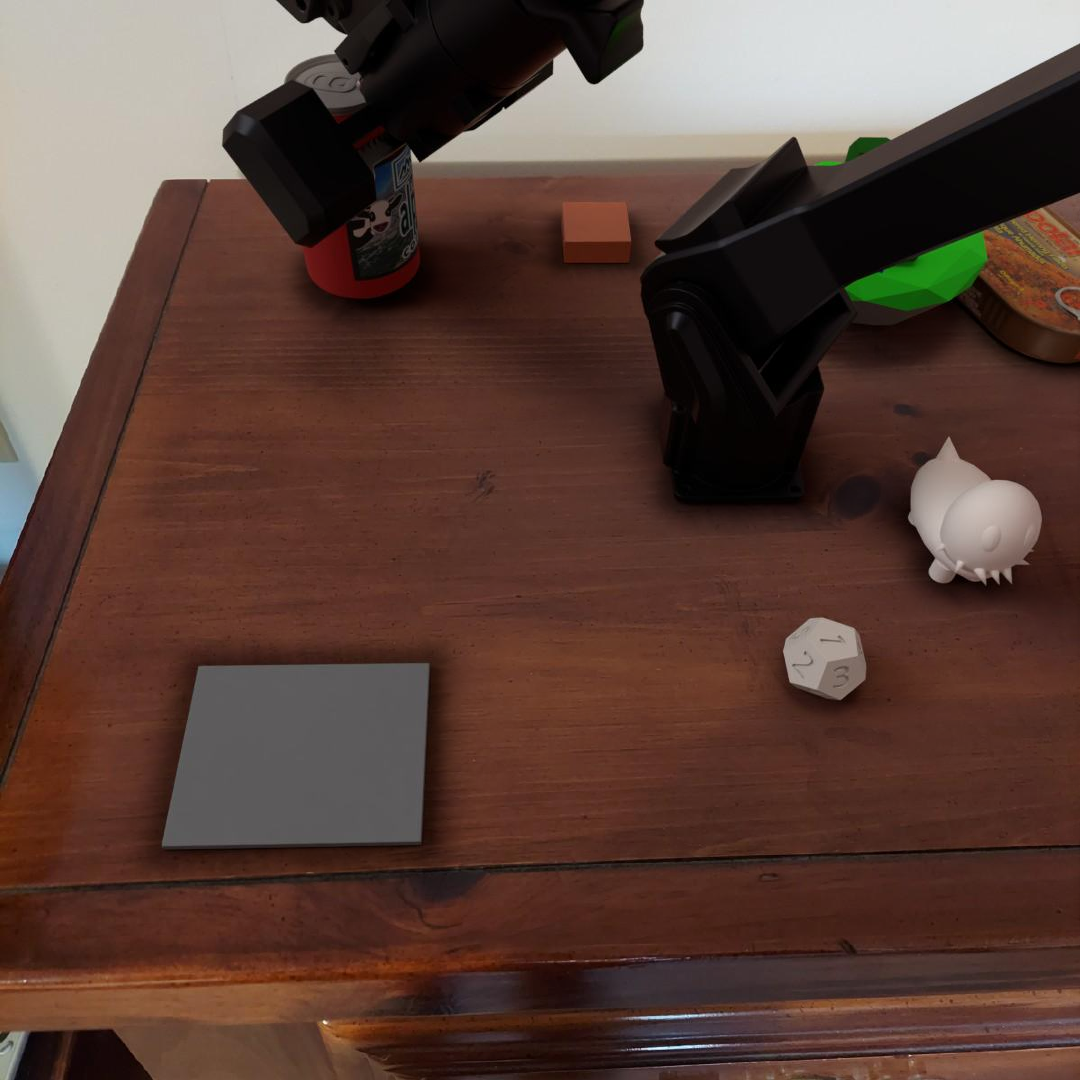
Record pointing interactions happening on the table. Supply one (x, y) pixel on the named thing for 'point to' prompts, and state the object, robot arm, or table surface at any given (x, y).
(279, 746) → the grey mat
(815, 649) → the game die
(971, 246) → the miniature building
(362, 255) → the beverage can
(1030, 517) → the toy creature
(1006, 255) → the tin
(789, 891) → the table surface
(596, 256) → the terracotta tile
